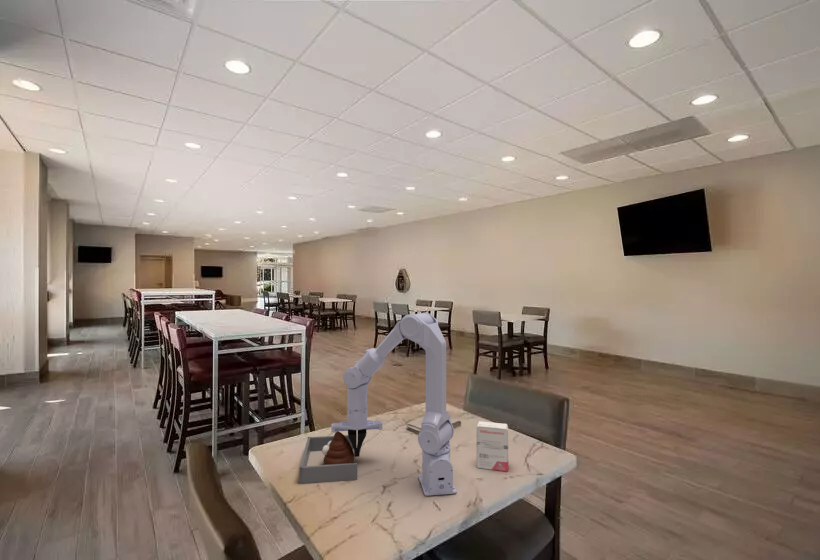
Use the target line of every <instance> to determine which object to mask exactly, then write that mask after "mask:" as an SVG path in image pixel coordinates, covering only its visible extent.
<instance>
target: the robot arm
mask: <svg viewBox="0 0 820 560" xmlns="http://www.w3.org/2000/svg"><path fill="white" fill-rule="evenodd" d="M405 339H408V340H409V341H412V342H413V343H416V344H418V345H419V346H420V347H421V348H422V349H423V350H424V351H425V412H424V414H423V417H422V418H423V420H422V423H421V431H420V433H419V435H418V434H417V443H418V445H419V447H420V449H421V452H422V453H421V454H422V455H421V456H422V457H421V462H422V463H421V464H422V465H421V466H422V467H421V471H422V472H421V474H419V475H418V476H417V477H418V479H419V480H418V481H419V483H420V486H421V488H422V492H423V494H424V496H441V495H442V496H443V495H452V494H455V495H456V494H457V489H456V487H455V485H454V468H453V467H454V466H453V465H452V462H451V444H450V442H451V440H452V438H453V436H454V433H455V431H454V430H455V428H453V426H452V423H451V419H450V418H451V414H450V413H449V412H448V411H447V341H446V339H445V337H444V335H443V333H442V331H441V328H440V327H439V320H437V318H435V317H434V315H432V314H431V313H428V312H425V311H424V312H421V313H413V314H411V313H410V314H406V315H404V316H403V317H402V318H401V320H399V321H397V322H396V324H395V326H394V327H393V328H392V329H391V331H390V332H389V333H388V334H387V335H386V336H385V338H384V339H383V340H382V341H381V342H380V343H379V345H378V346H377V347H376V348H373V347H372V348H371V347H370V348H369V349H366V350H365V351H364V355H363V356H362V357H361V358H360V359H359V360H356V361H355V362H354V366H353V367H347V368H346V370H345V372H344V373H343V382H344V385H345V386H346V387H347V390H346V391H347V399H346V402H347V404H346V405H347V406H346V407H347V414H346V417H347V419H346V421H341V422H333V423H331V429H330V430H331V431H330V432H331V433H336V432H337V431H339V432H347V435H348V437H349V439H350V441H351V443H352V446H353V452H354V458H359V457H360V453H361V451H362V447H363V443H364V441H365V439H366V437H367V433H368V432H367V431H370V430H379V431H383V420H369V419H368V390H369V384H370V382H371V381H372V378H373V375H374V374H376V373H377V372H378V371H379V369H381V368H382V366H384V365H385V363H386V356H387V355H388V354H390V353H391V351H392V350H394V349H395V348H396V347H397V346H398V345H400V343H401V342H403V340H405Z"/></svg>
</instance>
